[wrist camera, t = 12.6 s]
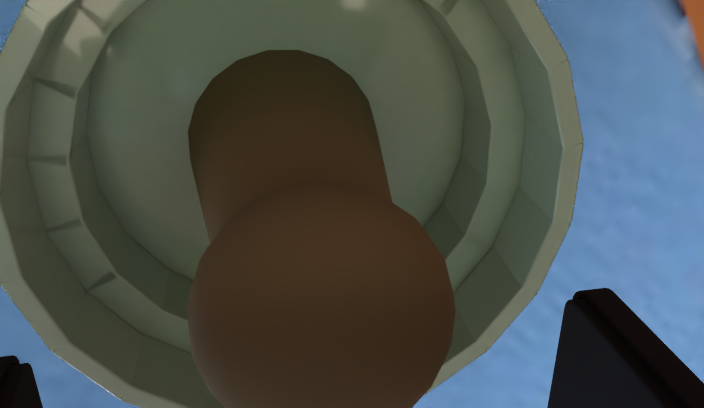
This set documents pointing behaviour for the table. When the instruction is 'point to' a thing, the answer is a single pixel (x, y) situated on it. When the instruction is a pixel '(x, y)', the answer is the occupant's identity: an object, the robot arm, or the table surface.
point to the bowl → (179, 183)
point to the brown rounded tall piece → (307, 247)
